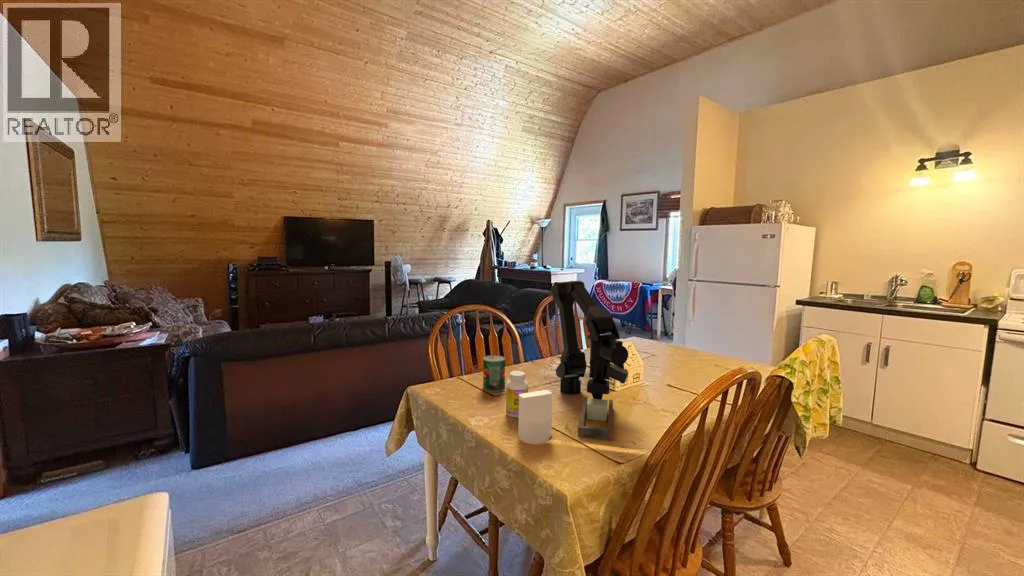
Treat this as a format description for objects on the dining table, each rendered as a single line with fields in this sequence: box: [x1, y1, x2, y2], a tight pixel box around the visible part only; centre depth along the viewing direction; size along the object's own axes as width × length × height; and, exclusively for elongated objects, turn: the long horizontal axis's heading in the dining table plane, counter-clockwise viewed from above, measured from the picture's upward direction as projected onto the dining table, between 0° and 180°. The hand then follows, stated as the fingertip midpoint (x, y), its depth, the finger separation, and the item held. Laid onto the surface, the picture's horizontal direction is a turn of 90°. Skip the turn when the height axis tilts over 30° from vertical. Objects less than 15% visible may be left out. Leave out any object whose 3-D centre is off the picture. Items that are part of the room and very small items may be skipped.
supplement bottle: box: [505, 370, 529, 419], centre depth 127 cm, size 7×7×13 cm
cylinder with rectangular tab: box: [517, 389, 553, 445], centre depth 113 cm, size 9×9×12 cm
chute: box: [577, 396, 614, 442], centre depth 121 cm, size 9×22×4 cm, turn 166°
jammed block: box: [586, 397, 609, 422], centre depth 124 cm, size 6×5×4 cm
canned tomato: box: [482, 354, 506, 393], centre depth 150 cm, size 8×8×11 cm
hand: (598, 405), depth 128 cm, fingers closed
